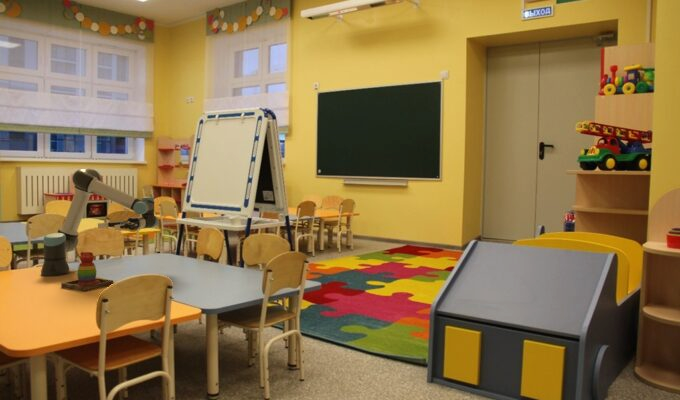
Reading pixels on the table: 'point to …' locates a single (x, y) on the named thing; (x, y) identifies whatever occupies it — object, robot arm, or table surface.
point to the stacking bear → (87, 270)
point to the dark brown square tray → (75, 286)
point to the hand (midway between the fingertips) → (106, 226)
